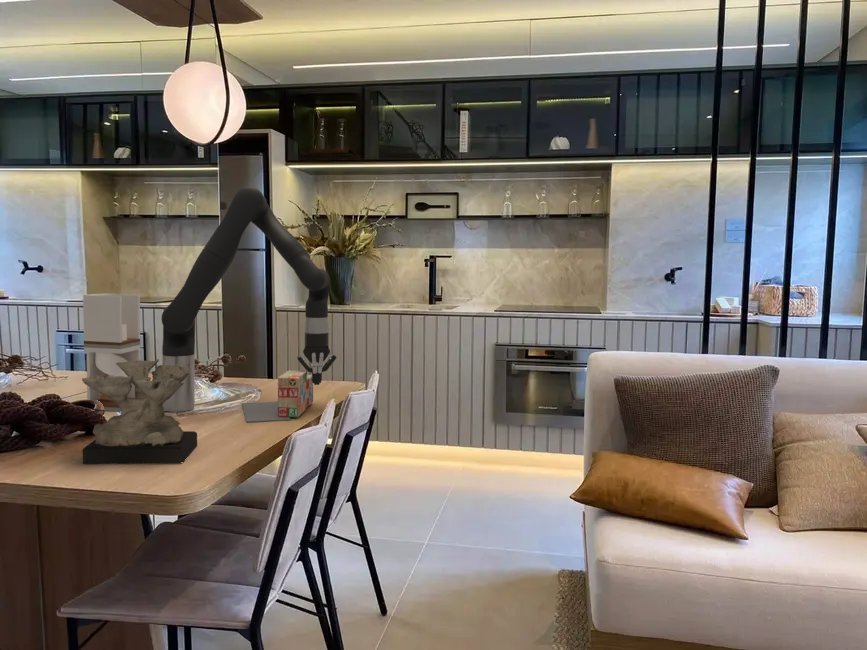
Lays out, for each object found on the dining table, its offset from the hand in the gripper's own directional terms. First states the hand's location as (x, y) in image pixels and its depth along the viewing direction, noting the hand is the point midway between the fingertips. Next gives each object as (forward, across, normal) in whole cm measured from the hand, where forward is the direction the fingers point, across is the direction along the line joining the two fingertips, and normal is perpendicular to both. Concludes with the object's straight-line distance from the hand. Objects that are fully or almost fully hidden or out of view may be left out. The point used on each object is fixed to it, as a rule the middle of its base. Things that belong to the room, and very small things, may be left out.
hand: (316, 384), depth 191 cm
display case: (+7, +60, -16) cm, 63 cm away
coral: (+8, +48, +33) cm, 59 cm away
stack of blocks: (+8, +6, 0) cm, 10 cm away
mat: (+8, +16, 0) cm, 18 cm away
